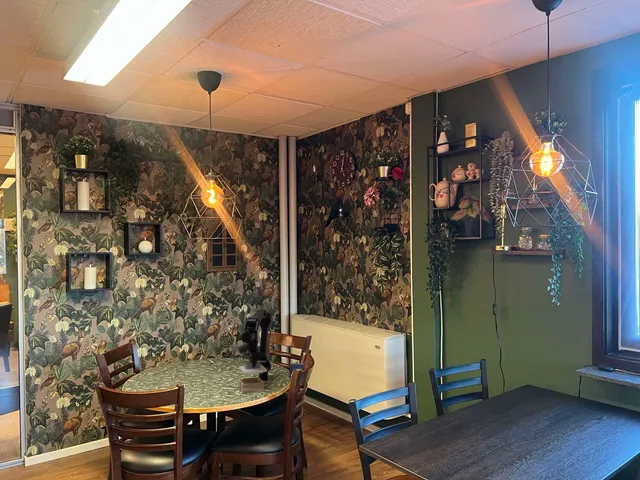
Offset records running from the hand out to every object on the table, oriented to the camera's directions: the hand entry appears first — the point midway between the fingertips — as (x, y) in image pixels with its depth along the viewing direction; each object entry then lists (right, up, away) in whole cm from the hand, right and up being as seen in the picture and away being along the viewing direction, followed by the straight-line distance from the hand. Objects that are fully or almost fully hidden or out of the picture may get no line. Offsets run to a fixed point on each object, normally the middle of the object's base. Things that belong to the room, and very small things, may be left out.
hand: (252, 366), depth 272 cm
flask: (+24, -13, +23) cm, 36 cm away
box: (-1, -13, -1) cm, 13 cm away
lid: (0, -3, 0) cm, 3 cm away
